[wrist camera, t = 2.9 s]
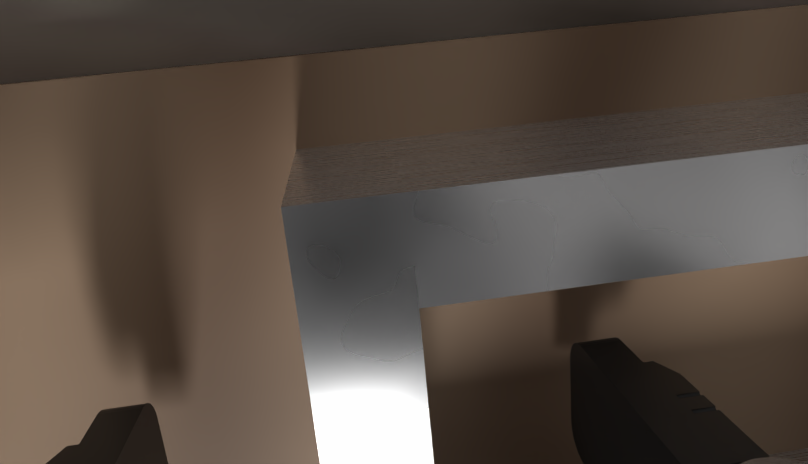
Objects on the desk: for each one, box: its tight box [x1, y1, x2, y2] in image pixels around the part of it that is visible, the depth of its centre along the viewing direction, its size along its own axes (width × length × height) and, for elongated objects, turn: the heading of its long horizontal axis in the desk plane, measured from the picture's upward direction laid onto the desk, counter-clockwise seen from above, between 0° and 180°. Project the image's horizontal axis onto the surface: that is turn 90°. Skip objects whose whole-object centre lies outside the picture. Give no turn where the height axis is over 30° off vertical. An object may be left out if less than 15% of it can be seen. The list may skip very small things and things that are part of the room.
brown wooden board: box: [0, 4, 808, 464], centre depth 13 cm, size 32×12×1 cm, turn 96°
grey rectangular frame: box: [281, 92, 808, 464], centre depth 11 cm, size 14×9×4 cm, turn 96°
